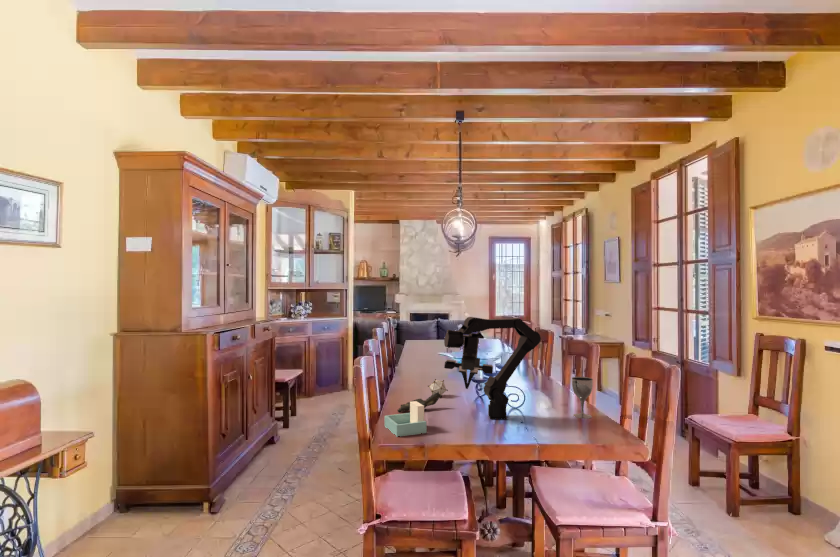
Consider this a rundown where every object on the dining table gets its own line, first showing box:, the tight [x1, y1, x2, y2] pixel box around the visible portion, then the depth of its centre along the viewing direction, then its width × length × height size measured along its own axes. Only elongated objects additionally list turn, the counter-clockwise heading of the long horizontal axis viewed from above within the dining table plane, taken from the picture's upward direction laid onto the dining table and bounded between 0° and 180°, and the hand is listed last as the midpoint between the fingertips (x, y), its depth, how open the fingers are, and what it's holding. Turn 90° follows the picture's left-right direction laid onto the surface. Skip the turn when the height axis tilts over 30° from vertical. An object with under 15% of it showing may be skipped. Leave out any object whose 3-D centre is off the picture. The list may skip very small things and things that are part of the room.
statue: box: [397, 392, 442, 413], centre depth 201 cm, size 6×6×20 cm
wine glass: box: [571, 376, 594, 419], centre depth 191 cm, size 8×8×15 cm
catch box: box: [384, 412, 428, 438], centre depth 174 cm, size 11×13×4 cm
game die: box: [427, 378, 449, 399], centre depth 225 cm, size 9×8×10 cm
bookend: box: [409, 400, 425, 423], centre depth 175 cm, size 10×8×9 cm
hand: (466, 388), depth 187 cm, fingers closed
